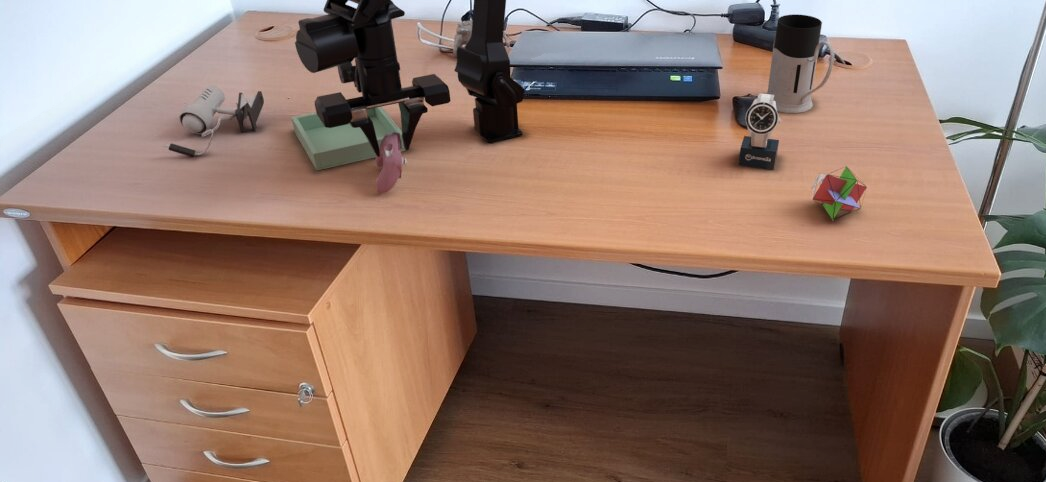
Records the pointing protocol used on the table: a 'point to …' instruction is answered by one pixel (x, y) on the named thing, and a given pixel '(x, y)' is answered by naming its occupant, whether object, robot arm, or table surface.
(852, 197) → the geometric puzzle
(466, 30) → the elephant statuette
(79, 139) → the table surface
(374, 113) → the tray
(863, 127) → the table surface
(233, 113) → the clip-on lamp
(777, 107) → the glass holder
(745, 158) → the watch
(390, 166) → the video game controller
